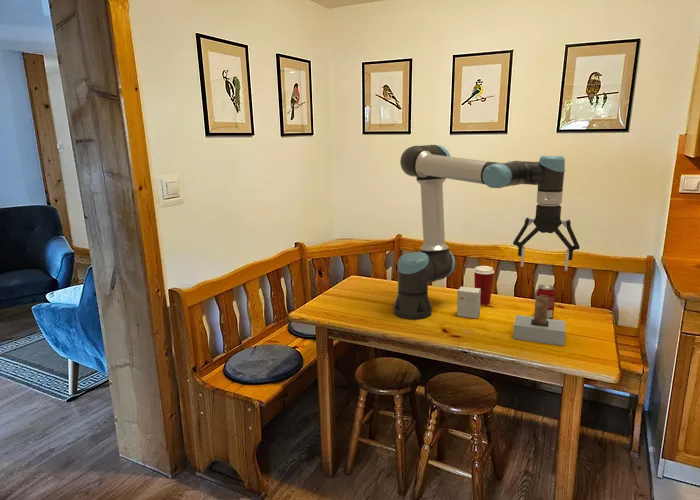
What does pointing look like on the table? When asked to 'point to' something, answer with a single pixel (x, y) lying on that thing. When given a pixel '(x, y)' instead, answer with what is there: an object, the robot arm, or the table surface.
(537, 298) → the peg
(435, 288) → the table surface
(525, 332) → the socket block
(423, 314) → the robot arm
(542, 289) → the soda can
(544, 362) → the table surface
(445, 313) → the table surface
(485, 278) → the coffee cup
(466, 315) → the small box
